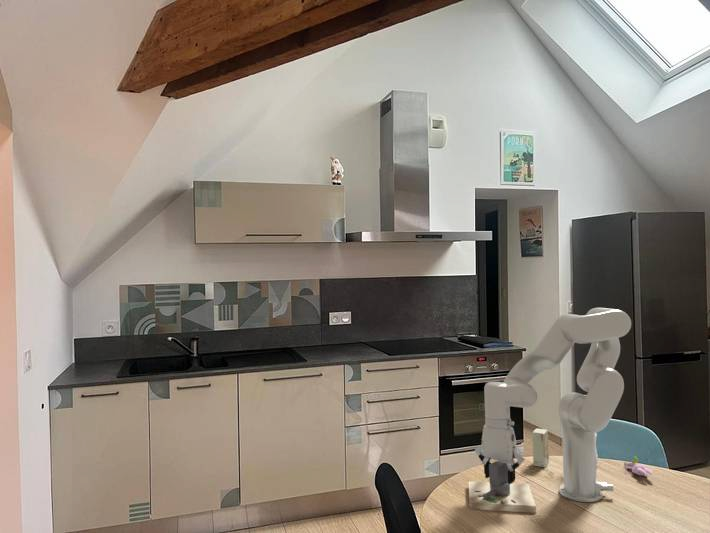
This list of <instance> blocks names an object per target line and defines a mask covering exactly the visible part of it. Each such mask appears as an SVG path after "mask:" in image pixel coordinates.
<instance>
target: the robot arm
mask: <svg viewBox="0 0 710 533" xmlns="http://www.w3.org/2000/svg"><path fill="white" fill-rule="evenodd" d="M631 328H632V319H631V318H630V316H629V315H628V313H626V312H625V311H623V310H620V309H618V308H617V309H615V308H606V307H594V308H591V309H589V310H588V311H587V313H585V314H584V315H581V314H580V315H578V314H574V313H573V314H572V313H566V314H565V313H563V314H561V315H560V316H558V317H557V318H556V319H555V321H554V322H553V324H552V325H551V326H550V327H549V329H548V331H547V332H546V333H545V335H544V336H543V338H542V339H541V340H540V342H539V343H538V344H537V345H536V346H535V348H534V349H533V350H532V351H530V352H528V353H527V354H526V355H524V357H523V358H521V359H520V360H518V362H517V363H516V364H514V366H513V367H512V368H511V369H510V371H509V372H508V374H507V375H506V376H505V378H504V380H503V381H489V382H486V383H485V385H484V387H483V389H484V390H483V391H484V393H483V394H484V417H485V418H484V419H485V422H484V423H485V424H484V425H483V429H482V436H481V444H480V445H479V446H477V448H475V449H474V452H475V453H476V455H477V456H478V458H479V459H480V461H481V463H482V465H483V473H484V477H485V479H488V478H489V464H491V463H492V462H491V460H495V461H498V460H499V461H504V462H506V464H507V466H508V468H509V470H508V483H509V484H511V483H514V482H515V481H516V469H517V468H519V467H520V466H521V465H522V464H523V463H524V461H525V458H524V457H523V455H522V454H520V453H519V451H518V448H517V446H518V445H517V440H516V434H515V429H514V427H513V426H515V421H514V420H512V418H511V409H510V407H514V408H529V407H531V406H532V407H533V405H535V404H536V402H537V400H538V393H537V390H536V389H535V387H534V386H533V385H531V384H530V383H531V381H532V380H533V379H534V378H535V377H536V376H537V375H539V374H540V373H543V372H545V371H548V370H551V369H553V368H556V367H558V366H559V365H560V364H561V363H562V361H563V360H564V359H565V357H566V355H567V354H568V353H569V352H570V350H571V349H572V347H573V346H574V345H575V343H576V344H580V345H584V344H586V345H587V344H590V348H589V350H588V351H587V352H588V353H587V355H586V356H585V359H584V361H583V362H582V364H581V366H580V369H579V370H578V373H577V374H576V383H577V385H578V387H579V388H580V389H582V390H583V391H585V392H587V394H582V393H579V392H567V393H566V394H564V395H563V396H562V397H561V398H560V400H559V402H558V414H559V420H560V426H561V437H562V438H561V439H562V440H561V441H562V466H563V483H562V484H561V485H559V487H558V493H559V494H560V496H562V497H564V498H566V499H569V500H572V501H575V502H579V503H580V502H581V503H594V502H598V501H600V500H602V498H603V491H605V492H606V491H607V492H614V485H613V484H607V482H606V481H599V480H598V479H597V464H596V457H595V436H594V433H595V432H596V433H599V432H601V431H602V430H604V429H605V428H606V427H607V426H608V424H609V422H610V421H611V418H612V417H613V415H614V413H615V411H616V409H617V407H618V406H619V403H620V401H621V399H622V396H623V394H624V390H625V383H624V378H623V376H622V375H621V373H619V372H618V370H616V369H615V367H616V364H617V362H618V360H619V358H620V354H621V344H620V339H619V338H621V337H622V338H623V337H624V336H626V335H627V334H628V333H629V331H630V330H631ZM585 395H587V396H585ZM514 459H515V460H516V459H517V460H516V462H515V460H514Z"/></svg>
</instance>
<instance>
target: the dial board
mask: <svg viewBox="0 0 710 533" xmlns="http://www.w3.org/2000/svg"><path fill="white" fill-rule="evenodd" d="M489 491H490V481H473V480H471V481H468V496H469V498H468V499H469V501H468V502H469V510H477V511H478V510H482V511H483V510H484V511H496V512H497V511H498V512H512V513H513V512H514V513H515V512H516V513H531V514H532V513H533V514H536V513H537V505H536V502H535V500H534V497H533V494H532V493H533V492H532V491H531V488H530V484H528V483H514V482H513V483H511V484H510V494H509V495H507V496H497V495H492V496H490V497H488V498H483V494H485V493H487V492H489Z"/></svg>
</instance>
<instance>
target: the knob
mask: <svg viewBox="0 0 710 533" xmlns="http://www.w3.org/2000/svg"><path fill="white" fill-rule="evenodd" d="M490 463H491V464H489V482H490V491H489V492H487V493H485V494H483V498H488V497H490V496H492V495H497V496H507V495H509V494H510V484H509V483H508V470H509V468H508V466H507V464H506V462H504V461H499V460H495V461H493V462H490Z"/></svg>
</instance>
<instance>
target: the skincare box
mask: <svg viewBox="0 0 710 533" xmlns="http://www.w3.org/2000/svg"><path fill="white" fill-rule="evenodd" d="M531 433H532V457H533V458H532V460H533V461H532V462H533V464H532V465H533V466H535V467H541V468H547V466H548V464H549V463H550V458H549V455H550V454H549V433H548V429H543V428H535V429H534V430H533V431H532V432H531Z"/></svg>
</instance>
